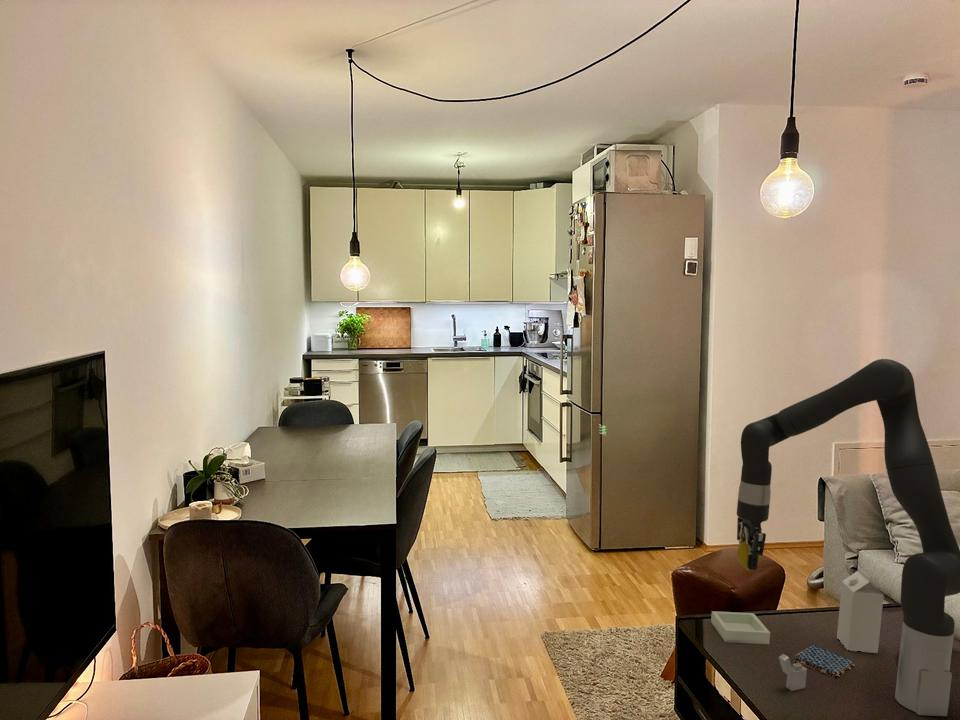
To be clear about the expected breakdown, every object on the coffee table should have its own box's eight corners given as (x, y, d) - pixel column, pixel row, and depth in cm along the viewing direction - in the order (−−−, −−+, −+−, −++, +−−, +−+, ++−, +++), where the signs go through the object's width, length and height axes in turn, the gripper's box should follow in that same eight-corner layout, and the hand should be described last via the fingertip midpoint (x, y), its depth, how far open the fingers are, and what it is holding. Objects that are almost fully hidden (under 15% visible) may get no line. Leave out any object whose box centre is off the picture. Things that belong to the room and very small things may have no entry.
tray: (769, 644, 180) (770, 632, 180) (724, 642, 180) (725, 630, 180) (752, 624, 191) (753, 613, 191) (710, 622, 191) (711, 611, 191)
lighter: (799, 683, 162) (802, 649, 161) (805, 687, 160) (809, 653, 159) (775, 689, 159) (778, 654, 158) (781, 693, 157) (784, 657, 157)
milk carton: (865, 640, 185) (872, 568, 183) (877, 654, 178) (885, 578, 176) (836, 638, 186) (843, 565, 184) (847, 651, 178) (855, 576, 177)
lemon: (731, 567, 186) (733, 536, 185) (747, 565, 188) (750, 535, 188) (746, 575, 181) (749, 544, 180) (763, 573, 183) (766, 542, 183)
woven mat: (791, 663, 172) (791, 655, 172) (811, 650, 179) (812, 642, 179) (836, 682, 164) (837, 673, 164) (856, 668, 171) (856, 659, 171)
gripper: (779, 509, 176) (773, 576, 177) (758, 492, 190) (752, 555, 192) (748, 507, 176) (742, 574, 178) (729, 490, 190) (723, 553, 192)
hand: (747, 564), depth 185 cm, fingers closed on lemon, 5 cm apart
